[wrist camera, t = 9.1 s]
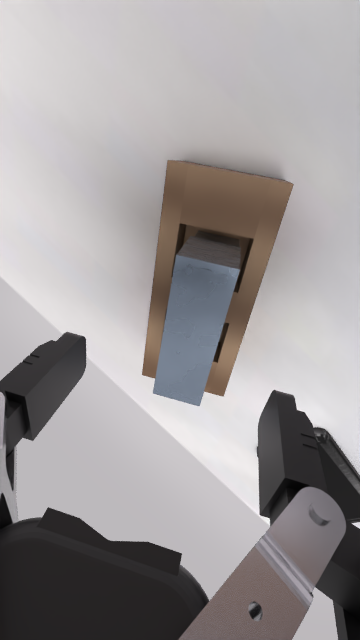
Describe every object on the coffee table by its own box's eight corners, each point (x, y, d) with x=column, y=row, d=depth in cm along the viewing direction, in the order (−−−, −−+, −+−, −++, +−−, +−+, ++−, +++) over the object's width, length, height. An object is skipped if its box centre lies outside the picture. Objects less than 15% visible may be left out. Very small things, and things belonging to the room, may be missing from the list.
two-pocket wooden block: (181, 160, 19) (167, 160, 16) (284, 180, 19) (293, 184, 15) (155, 348, 27) (142, 374, 24) (226, 366, 27) (223, 396, 23)
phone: (324, 430, 27) (388, 518, 31) (321, 421, 28) (383, 507, 32) (252, 452, 31) (317, 528, 35) (251, 443, 32) (315, 518, 36)
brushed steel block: (199, 223, 20) (176, 254, 13) (241, 232, 20) (239, 269, 13) (178, 328, 25) (152, 393, 18) (212, 337, 24) (199, 406, 17)
